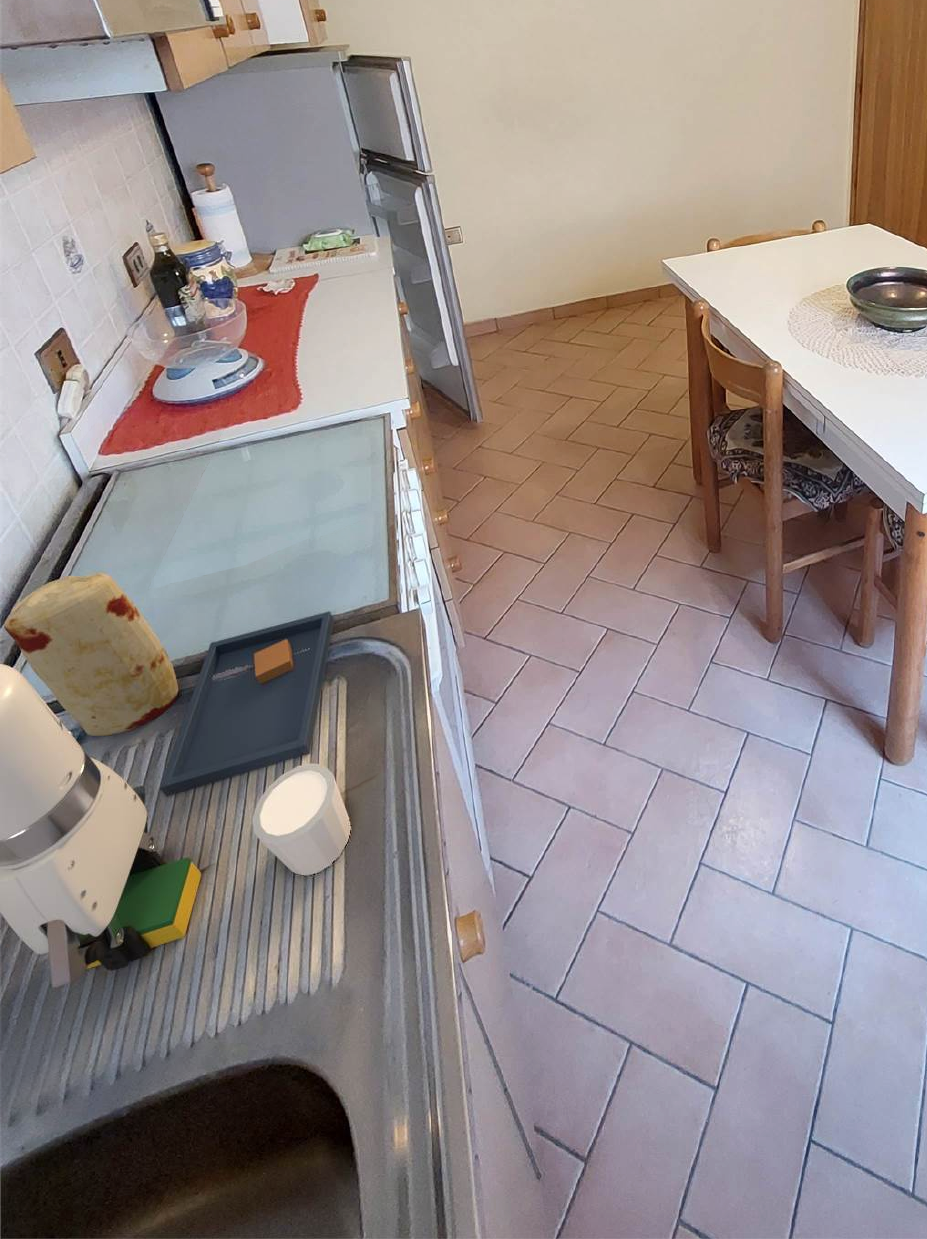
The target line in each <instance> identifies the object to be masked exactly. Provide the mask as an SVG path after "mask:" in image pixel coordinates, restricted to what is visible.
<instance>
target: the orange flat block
mask: <svg viewBox="0 0 927 1239" xmlns="http://www.w3.org/2000/svg"><path fill="white" fill-rule="evenodd" d="M254 662H255V677H256V678H257V680H258V682H259V683H260V684H263V683H265V682H267V681H269V680H271V679H273V678H275V677H278V676H280V675H282V674H284V673H286V672H288V671H290V670H293V669H294V666H293V658H292V650H291V646H290V644H289V642H288V640H287V639H286V640H283V641H281V642H279V643H277V644H275V645H272V646H270V647H268V648H266V649H263V650H261V651H259V652H257V653H255V654H254Z"/></svg>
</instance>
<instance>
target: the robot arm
mask: <svg viewBox="0 0 927 1239" xmlns="http://www.w3.org/2000/svg"><path fill="white" fill-rule="evenodd" d="M75 737H76V736H75V734H74V732H72V731H69V730H68V729H67V727H66V726H65V725H64V724H63V722H62V721H61V720H60V719H59V718H58V717H57V715H56V714H55V712H53V710H52V709H51V708H50V707H49V705H48V704H47V703H46V702H45V700H44V699H43V698H42V697H41V696H40V694H39V693H38V692H37V691H36V689H35V688H34V687H33V685H31V683H30V682H29V681H28V679H27V678H26V677H25V676H24V675H23V674H22V673H21V672H20V671H19V670H18V669H16V668H14V667H11V666H10V665H7V664H2V663H0V914H1V915H2V917H3V918H4V920H5V921H6V923H7V924H8V925H9V927H10V928H11V929H12V930H13V931H14V933H15V934H16V935H17V936H18V937H19V938H20V940H21V941H22V942H23V943H24V944H25V945H26V946H27V947H28V948H29V949H30V950H32V951H33V952H34V953H35V954H37V955H41V956H42V955H46V954H48V959H49V971H50V984H51V987H52V989H58V988H60V987H64V986H66V985H67V986H68V985H69V984H72V983H75V982H76V980H77V979H79V977H81V975H82V974H84V972H85V971H87V970H88V969H87V967H88V966H89V965H90V964H91V963H94V962H96V961H97V960H98V961H99V962H100V963H101V965H102V966H103V967H104V968H105V969H107V970H108V971H117V970H120V969H124V968H126V967H128V966H129V965H130V963H131V962H134V961H138V960H141V959H144V958H146V957H148V956H149V953H150V951H151V950H150V949H151V948H150V946H149V944H148V943H147V942H146V941H145V940H144V939H143V938H142V937H141V935H139V934H138V933H137V931H136V930H135V929H134V928H133V926H125V927H122V924H121V922H120V920H119V917H118V915H117V912H116V908H117V905H118V903H119V900H120V897H121V894H122V892H123V889H124V886H125V883H126V881H127V878H128V876H130V875H133V874H137V873H140V872H143V871H146V870H149V869H153V868H156V867H159V866H162V865H165V864H167V862H166V861H165V860H164V859H163V858H162V856H161V855H160V853H158V852H157V850H154V849H155V846H156V838H155V836H154V835H152V834H151V833H149V828H148V826H149V825H148V819H149V818H148V811H147V808H146V804H145V803H146V790H145V786H144V785H139V786H136V787H132V786H130V784H129V783H127V781H126V780H125V779H124V778H122V777H121V775H119V773H117V772H115V770H113V769H112V768H110V767H109V766H107V765H106V764H105V763H103V762H101V761H99V760H98V759H95V758H93V757H90V756H89V755H88V753H87V752H86V750H84V748H83V747H82V746H81V744H79V742H78V741H77V740H76V738H75Z"/></svg>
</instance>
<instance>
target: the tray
mask: <svg viewBox="0 0 927 1239" xmlns="http://www.w3.org/2000/svg"><path fill="white" fill-rule="evenodd" d="M334 623H335V619H334V616H333V614H332V612H331V611H326V612H322V613H318V614H314V615H311V616H307V617H303V618H300V619H296V620H292V621H288V622H284V623H280V624H277V625H273V626H269V627H265V628H261V629H257V630H254V631H249V632H247V633H243V634H238V635H235V636H231V637H228V638H223V639H220V640H216V641H212V642H210V644H209V647H208V649H207V653H206V654H205V658H204V661H203V664H202V666H201V669H200V672H199V675H198V678H197V680H196V684H195V687H194V689H193V692H192V694H191V698H190V701H189V703H188V705H187V709H186V711H185V713H184V716H183V717H184V718H183V721H182V723H181V726H180V728H179V732H178V733H177V738H176V740H175V743H174V746H173V748H172V751H171V754H170V757H169V760H168V763H167V766H166V767H165V771H164V774H163V777H162V779H161V783H160V785H159V789H160V790H161V792H162V793H163V794H164V796H165V797H170V796H172V795H176V794H180V793H182V792H186V791H189V790H193V789H196V788H200V787H203V786H206V785H210V784H213V783H217V782H220V781H223V780H226V779H230V778H234V777H236V776H240V775H243V774H246V773H249V772H253V771H256V770H260V769H263V768H267V767H269V766H273V765H276V764H279V763H284V762H286V761H290V760H294V759H297V758H299V757H300V758H301V757H303V756H306V755H309V754H310V753H311V751H312V750H311V749H312V743H313V738H314V733H315V729H316V728H315V727H316V722H317V716H318V711H319V706H320V700H321V695H322V688H323V683H324V677H325V671H326V666H327V663H328V655H329V651H330V645H331V640H332V633H333V629H334V628H333V627H334ZM286 639H287V640H288V642H289V644H290V646H291V650H292V656H293V666H294V669H293V670H290V671H288V672H286V673H284V674H282V675H280V676H278V677H275V678H273V679H271V680H269V681H267V682H265V683H263V684H260V683H259V682H258V680H257V678H256V677H255V668H254V670H253V668H252V670H251V671H250V670H249V672H246V673H243V672H242V674H241V673H240V675H237V676H235V677H233V678H229V679H226V680H224V679H223V680H220V681H219V680H218V681H217V680H216V681H215V682H214V681H213V682H211V681H212V677H213V675H215V674H218V673H222V672H225V671H226V670H229V669H231V670H232V669H235V668H236V667H238V668H239V667H245V666H246V665H248V666H249V665H251V666H252V665H253V666H254V665H255V662H254V654H255V653H257V652H259V651H261V650H263V649H266V648H268V647H270V646H272V645H275V644H277V643H279V642H281V641H283V640H286ZM308 648H310V652H309V651H307V652H306V651H305V652H304V653H303V651H302V649H303V650H305V649H307V650H308ZM300 651H302V654H301V655H300V654H298V655H297V652H299V653H300ZM294 653H296V654H295V655H294ZM215 676H216V675H215Z"/></svg>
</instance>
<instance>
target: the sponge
mask: <svg viewBox="0 0 927 1239" xmlns="http://www.w3.org/2000/svg"><path fill="white" fill-rule="evenodd" d="M201 877H202V873H201V871H200V870H199V869H198V867H197V866H196V865H195V864H194V863H193V861H192V859H191V858H190V857H188V856H187V857H184V858H181V859H178V860H175V861H172V862H169V863H166V864H165V865H162V866H159V867H156V868H153V869H149V870H146V871H143V872H140V873H137V874H133V875H130V876H128V878H127V881H126V883H125V886H124V889H123V892H122V894H121V897H120V900H119V903H118V905H117V908H116V912H117V915H118V917H119V920H120V922H121V924H122V927H125V926H133V928H134V929H135V930H136V931H137V933H138V934H139V935H141V937H142V938H143V939H144V940H145V941H146V942H147V943H148V944H149V946H150V949H153V948H156V947H159V946H161V945H164V944H168V943H170V942H173V941H176V940H180V939H183V938H185V937H186V932H187V928H188V926H189V922H190V918H191V914H192V910H193V907H194V904H195V900H196V897H197V893H196V892H198V889H199V885H200V882H201ZM101 965H102V964H101V963H100V962H99V961H98V960H97V961H96V962H94V963H91V964H90V965H89V966H88V967H87V969H86V970H88V969H91V968H95V967H99V966H101Z"/></svg>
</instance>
